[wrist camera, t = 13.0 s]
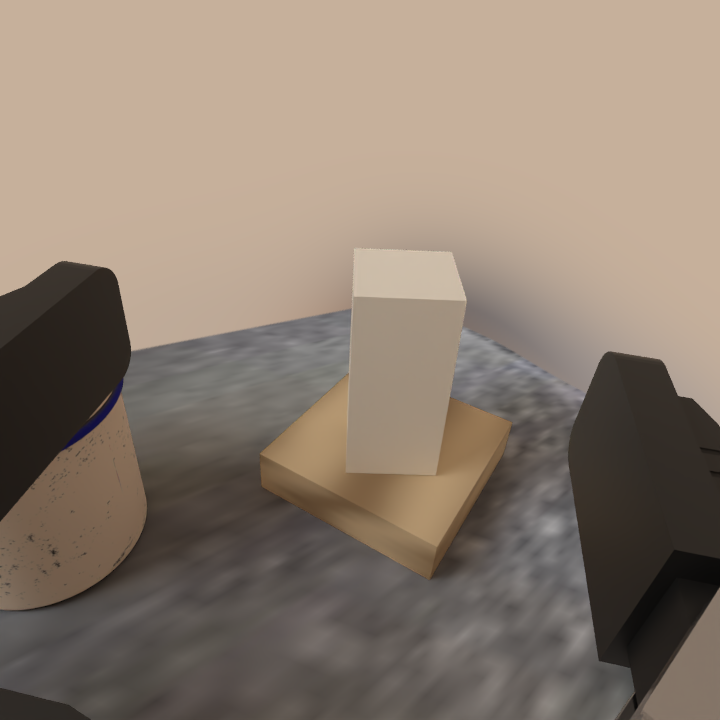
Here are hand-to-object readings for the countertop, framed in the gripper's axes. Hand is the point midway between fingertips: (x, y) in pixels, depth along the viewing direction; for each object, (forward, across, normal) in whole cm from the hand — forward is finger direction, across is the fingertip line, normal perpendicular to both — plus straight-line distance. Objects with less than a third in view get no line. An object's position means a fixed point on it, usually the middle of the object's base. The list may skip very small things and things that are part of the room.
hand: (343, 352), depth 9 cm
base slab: (+15, -1, +19) cm, 24 cm away
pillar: (+14, 0, +16) cm, 21 cm away
